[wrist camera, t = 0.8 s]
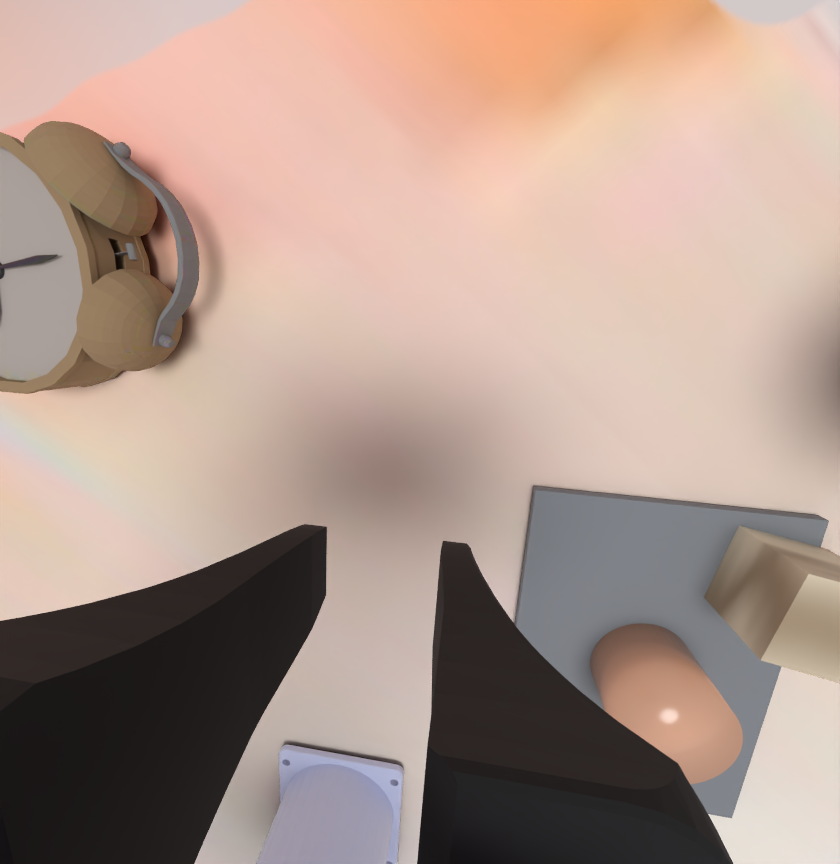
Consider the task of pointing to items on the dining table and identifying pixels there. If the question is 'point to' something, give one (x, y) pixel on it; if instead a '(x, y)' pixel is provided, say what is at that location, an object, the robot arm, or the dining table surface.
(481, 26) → the dining table surface
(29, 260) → the alarm clock
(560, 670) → the slate mat
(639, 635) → the tan rounded piece
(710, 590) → the birch cube
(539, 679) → the robot arm
